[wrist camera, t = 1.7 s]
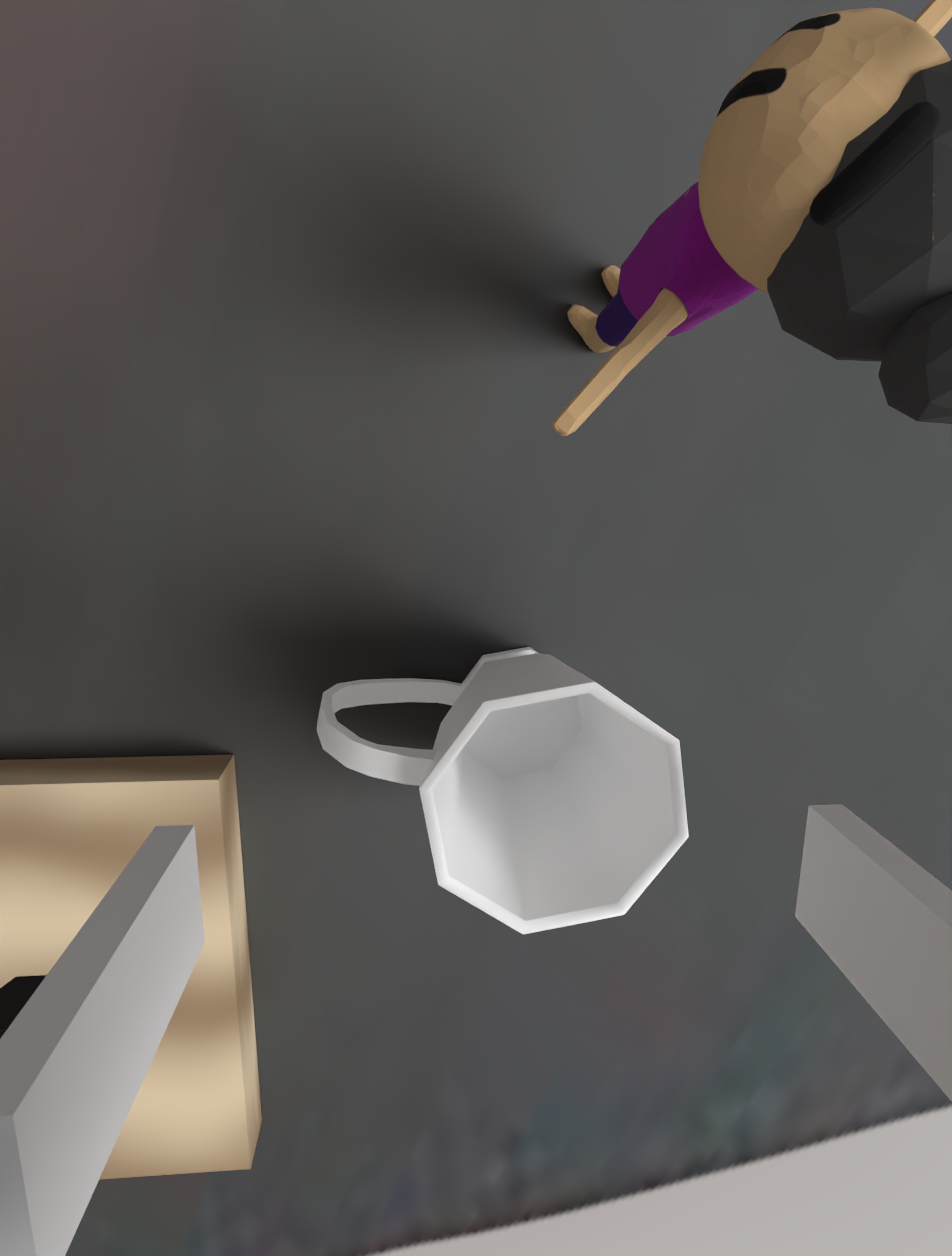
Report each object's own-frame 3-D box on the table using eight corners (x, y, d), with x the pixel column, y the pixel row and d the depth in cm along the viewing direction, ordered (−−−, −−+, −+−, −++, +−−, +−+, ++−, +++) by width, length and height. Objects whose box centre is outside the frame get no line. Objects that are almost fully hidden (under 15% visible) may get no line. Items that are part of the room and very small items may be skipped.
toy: (690, 141, 21) (1268, -531, 7) (805, 277, 23) (1504, -51, 8) (460, 403, 23) (537, 305, 8) (580, 519, 24) (834, 614, 9)
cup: (581, 808, 26) (650, 955, 19) (316, 760, 25) (270, 897, 17) (633, 631, 25) (732, 710, 17) (354, 571, 24) (322, 626, 16)
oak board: (-97, 762, 24) (-143, 789, 22) (233, 754, 25) (218, 779, 23) (-24, 1138, 28) (-57, 1190, 26) (261, 1120, 29) (250, 1168, 27)
